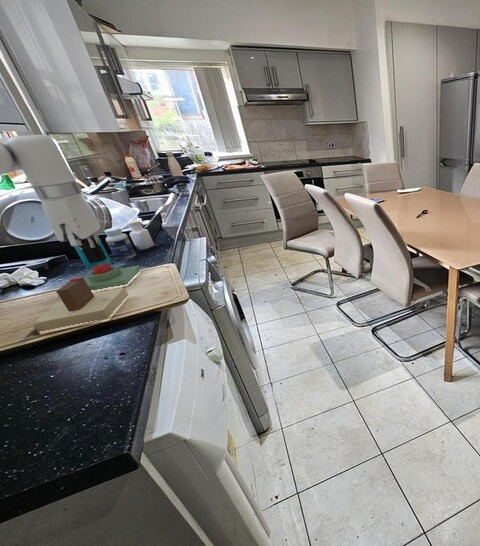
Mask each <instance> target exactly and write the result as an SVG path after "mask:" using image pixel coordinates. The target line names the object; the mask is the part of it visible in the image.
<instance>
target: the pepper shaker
mask: <svg viewBox="0 0 480 546" xmlns="http://www.w3.org/2000/svg"><path fill="white" fill-rule="evenodd" d="M127 224H128V225H129V228H130V230H131V231H130V232H129V237H130V239H131V240H132V243H133V245H134V247H135V249H136V250H148V249H150V248H152V247H154V246H155V243H154V241H153V238H152V236H151V233H150V232H149V229H146V228H144V227H143V225H142V223H141V220H138V219H137V220H132V221H129V222H128V223H127Z"/></svg>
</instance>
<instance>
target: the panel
mask: <svg viewBox="0 0 480 546" xmlns="http://www.w3.org/2000/svg"><path fill="white" fill-rule="evenodd" d="M93 295H94V297H93V298H92V299H91V300H90V301H89V302H88V303H86V304H85V305H84V306H83V307H82V308H81V309H79V310H73V311H68V309H67V308H66V306H65V305H64V303H63V301H62V300H61V299H60V300H59V301H58V302H57V303H55V305H53V306H52V307H50V308H49V309H48V310H47V311H46V312H44V313H43V314H42V315H41V316H40V317H38V318H37V319H36V320H34V321H33V322H32V323H31V325H32V326H33V328H34V329H35V330H36V332H37V333H38V332H40V331H45V330H50V329H55V328H60V327H65V326H70V325H75V324H80V323H85V322H90V321H95V320H102V319H107V318H108V317H109V316H110V315H111V314H112V313H113V311H114V310H115V309H116V308H117V307H118V306H119V305H120V304H121V303H122V301H123V300H124V299H125V298H126V297H127V296H128V295H129V293H128V291H127V289H126V287H124V288H118V289H113V290H107V291H102V292H96V293H93Z"/></svg>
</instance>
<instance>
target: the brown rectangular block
mask: <svg viewBox="0 0 480 546" xmlns="http://www.w3.org/2000/svg"><path fill="white" fill-rule="evenodd" d="M56 294H57V295H58V297H59V298H60V301H61V300H62V301H63V303H64V305H65V306H66V308H67V309H68V311H73V310H79V309H81V308H82V307H83V306H84V305H85V304H86V303H88V302H89V301H90V300H91V299H92V298H93V297H94V295H93V293H92V292H91V290H90V288H89V287H88V285H87V283H86V281H85V280H84V277H82V276H80V277H73V278H71V279H70V280H69V281H68V282H67V283H65V284H64V285H62V286H61V287H60V288H58V289H57V290H56Z"/></svg>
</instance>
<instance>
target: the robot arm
mask: <svg viewBox="0 0 480 546" xmlns="http://www.w3.org/2000/svg"><path fill="white" fill-rule="evenodd" d="M16 171H22V172H23V174H24V175H25V177H26V178H27V180H28V182H29V183H30V185H31V187H32V189H33V191H34V192H35V194H36V195H37V197H38V199H39V200H40V203H41V207H42V210H43V213H44V215H45V217H46V219H47V221H48V224H49V225H50V227H51V229H52V231H53V233H54V234H55V237H56V238H57V240H58V241H59V242H61V243H64V242H69V244H70V246H71V247H74V246H78V247H79V248H80V250H82V251H83V253H84V254H85V256H86V258H87V260H88V261H89V263H96V262H102V261H104V260H105V259H107V257H106V256H105V254H104V252H103V250H102V248H101V246H100V242H99V240H98V238H97V236H98V237H99V234H100V231H99V230H100V229H101V227H102V226H101V223H100V221H99V219H98V217H97V215H96V214H95V212H94V210H93V209H92V207H91V205H90V204H89V203H88V200H87V199H86V198H85V196H84V192H83V190H82V188H81V186H80V184H79V182H78V181H77V179H76V177H75V175H74V173H73V171H72V169H71V168H70V166H69V163H68V161H67V159H66V158H65V156H64V154H63V152H62V150H61V148H60V146H59V145H58V142H57V141H56V140H55V139H54V138H53V137H52V136H50V135H47V134H26V135H16V136H15V135H14V136H11V137H0V176H2V175H4V174H8V173H12V172H16ZM77 236H78V237H77ZM74 248H75V247H74Z"/></svg>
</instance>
